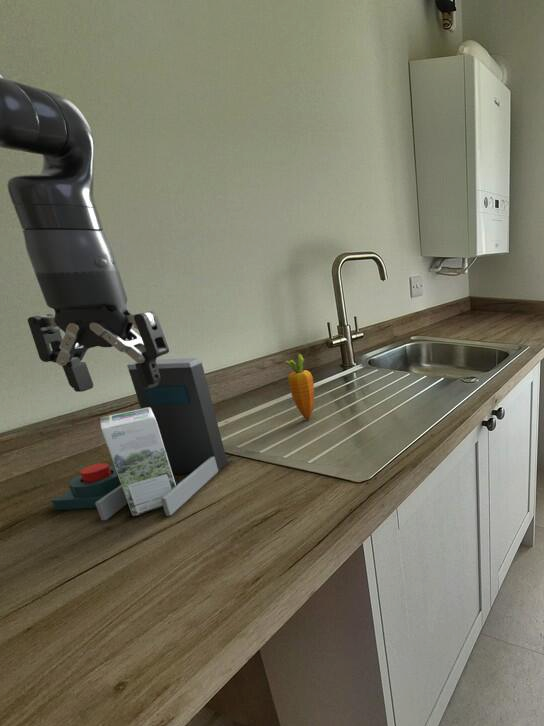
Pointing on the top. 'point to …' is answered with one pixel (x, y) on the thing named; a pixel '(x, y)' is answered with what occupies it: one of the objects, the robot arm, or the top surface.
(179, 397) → the grey panel on legs
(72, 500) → the control block
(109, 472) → the stop button
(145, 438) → the syrup box
